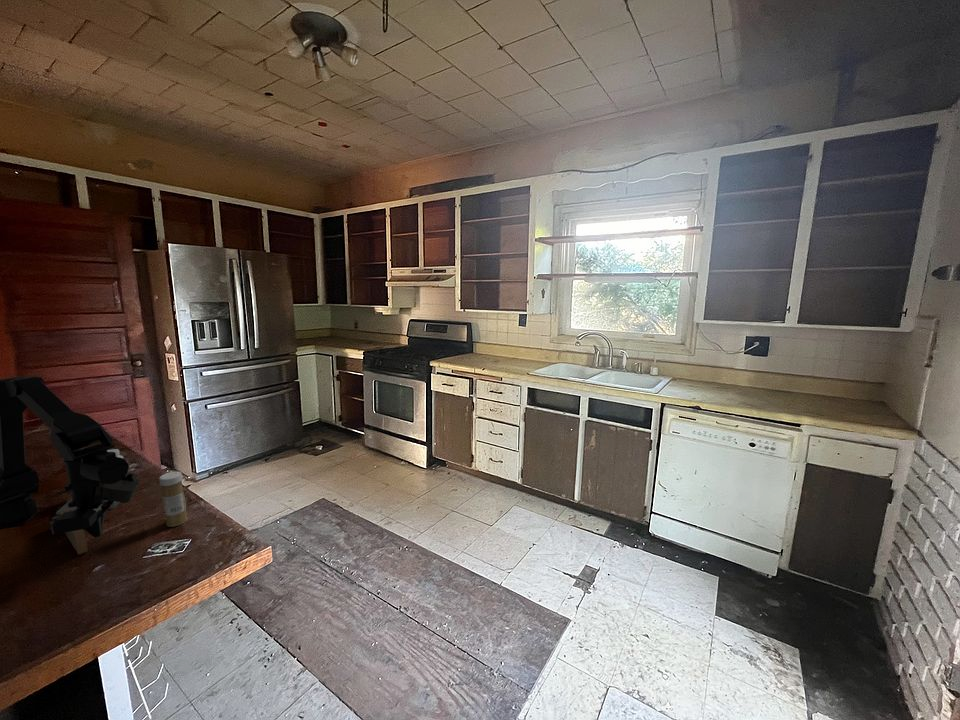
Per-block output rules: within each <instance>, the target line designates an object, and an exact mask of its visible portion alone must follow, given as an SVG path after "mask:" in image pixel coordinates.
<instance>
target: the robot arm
mask: <svg viewBox="0 0 960 720" xmlns="http://www.w3.org/2000/svg"><path fill="white" fill-rule="evenodd" d="M27 409H29V410H30V411H32V413H33V414H34V415H35V416H36V417H37V418H38V419H39V420H41V422H43V424H44V425H46V427H48V428H49V430H50V431H49V436H48V437H49V438H48V439H49V440H50V441H51V444H52V446H53V447H54V449H55V450H57V451H58V452H59V457H60V458H63V461H64V466H65V472H66V477H67V481H68V483H67V484H66V485H65V486H64V487H63V488H64V491H65V492H66V491H67V492H68V491H70V496H71V499H72V500H71V501H70V502H69V503H68V507H69V508H71V507H77V509H76V510H75V511H68V512H64V513H63V514H62V515H61V516H60V517H59V518H58V519H57V520H55V521H54V522H53V523H52V524H51V523H50V529H51V533H52V535H57V534H65V532H70V531H76V530H82V529H83V530H84V531H85V532H87V534H90V535H91V536H92V537H93V538H100V537H101V536H102V533H103V527H104V522H105V518H106V512H107V511H108V510H109V509H108V508H109V507H110V506H111V505H112V504H113V503H114V502H115V501H116V502H120V503H119V504H127V503H130V501H131V500H132V499H133V497H135V496H136V492H137V489H138V487H139V486H140V482H139V480H138V478H137V476H136V473H132V472H129V469H130V465H129V464H130V463H128V461H127V460H126V459H125V458H124V457H123V458H124V459H123V458H120V457H116V453H115V452H107V450H112V449H115V444H114V443H113V442H114V441H113V440H114V439H113V438H112V437H111V436H110V435H109V434H108V432H107V431H106V429H104V427H103V426H102V425H101V423H99V422H98V421H96V420H94V419H93V418H92V417H90V415H87V414H83V413H79V412H75V411H73V410H72V409H71V408H70V407H69V406H68V405H67V404H66V403H65V402H64V401H63V400H62V399H61V398H59V396H57V395H56V394H55V393H54V392H53V391H52V390H51V389H50V388H49V387H48V386H47V385H46V383H45V380H44V378H43V377H41V376H35V375H31V376H26V377H25V376H22V375H19V376H18V375H17V376H13V377H6V378H0V529H2V528H3V529H4V528H8V527H15V526H20V525H24V524H26V523H27V522H29V521H30V520H31V519H33V518H34V517H35V516H36V515H38V513H40V509H37V503H36V500H35V499H34V498H33V497H32V495H33V494H37V493H39V481H40V480H39V479H40V478H39V475H38V472H37V471H36V470H35V469H34V468H32V466H31V467H30V466H29V464H27V463H26V448H25V447H26V446H25V443H26V442H25V425H24V423H25V422H24V413H25V411H26V410H27ZM99 442H100V443H99ZM126 474H127V475H126Z"/></svg>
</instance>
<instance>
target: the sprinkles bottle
mask: <svg viewBox="0 0 960 720" xmlns="http://www.w3.org/2000/svg"><path fill="white" fill-rule="evenodd" d="M158 481H159V486H160V488H161V495H162V502H163V508H164V514H165V519H166V526H167V527H171V528H172V527H173V528H174V527H179V526H181V525H183V524H185V523H186V522H187V521H188V519H189V517H188V515H187V514H188V513H187V504H186V498H185V493H184V488H183V487H184V486H183V482H182V481H183V475H182V472H181V471H169V472H166V473H164V474H162V475H160V476H159V478H158Z"/></svg>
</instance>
